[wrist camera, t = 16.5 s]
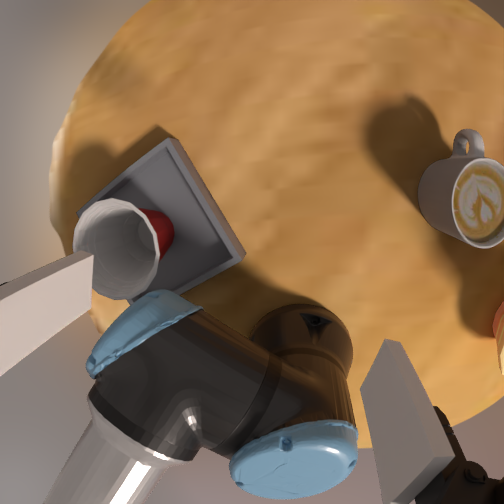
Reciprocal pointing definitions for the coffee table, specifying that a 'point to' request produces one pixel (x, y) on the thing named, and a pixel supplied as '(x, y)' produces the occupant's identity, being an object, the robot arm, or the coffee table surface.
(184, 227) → the bin
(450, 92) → the coffee table surface
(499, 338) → the potted cactus
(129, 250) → the plastic cup
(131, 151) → the coffee table surface
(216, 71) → the coffee table surface
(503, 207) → the coffee mug
